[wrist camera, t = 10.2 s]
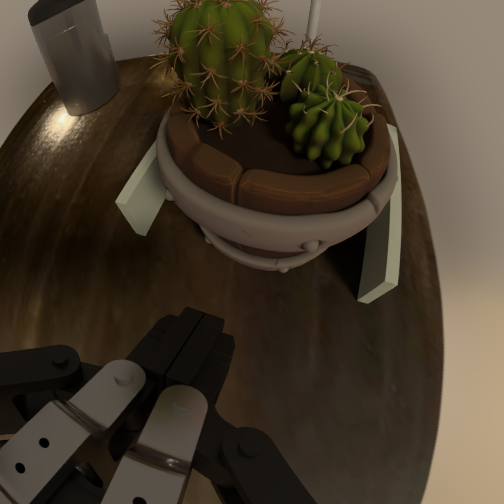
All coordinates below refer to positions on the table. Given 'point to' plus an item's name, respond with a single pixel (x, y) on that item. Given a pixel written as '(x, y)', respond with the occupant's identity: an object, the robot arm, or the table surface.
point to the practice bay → (378, 232)
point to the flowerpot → (267, 139)
